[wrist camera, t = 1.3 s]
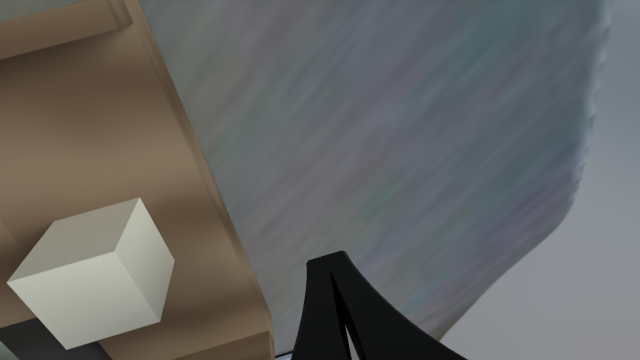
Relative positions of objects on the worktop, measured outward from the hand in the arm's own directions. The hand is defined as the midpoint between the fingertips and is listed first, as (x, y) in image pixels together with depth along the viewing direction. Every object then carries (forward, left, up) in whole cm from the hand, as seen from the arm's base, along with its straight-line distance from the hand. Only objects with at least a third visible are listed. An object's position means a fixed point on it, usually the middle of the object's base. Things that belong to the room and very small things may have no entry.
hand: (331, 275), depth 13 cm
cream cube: (0, +10, -6) cm, 11 cm away
